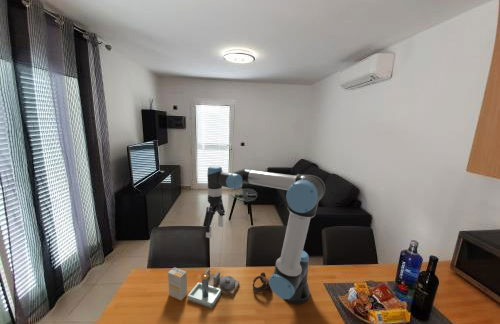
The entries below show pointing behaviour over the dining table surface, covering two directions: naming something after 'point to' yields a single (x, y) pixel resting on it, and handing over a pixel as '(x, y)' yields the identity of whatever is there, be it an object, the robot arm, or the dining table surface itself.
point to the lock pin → (205, 284)
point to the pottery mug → (263, 280)
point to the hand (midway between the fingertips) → (214, 231)
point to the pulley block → (223, 283)
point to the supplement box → (177, 283)
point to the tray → (198, 298)
